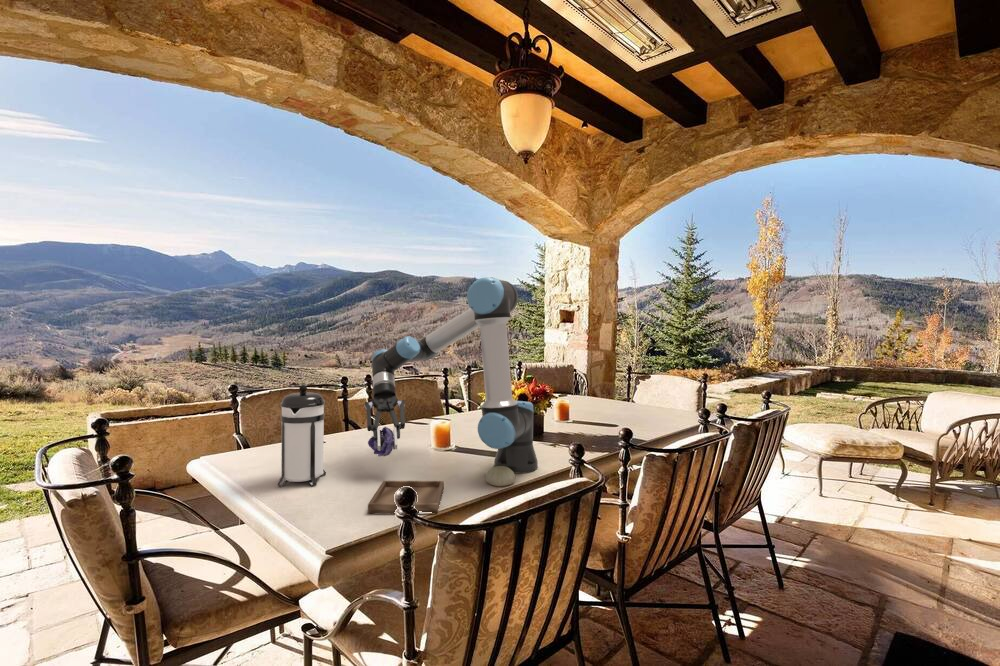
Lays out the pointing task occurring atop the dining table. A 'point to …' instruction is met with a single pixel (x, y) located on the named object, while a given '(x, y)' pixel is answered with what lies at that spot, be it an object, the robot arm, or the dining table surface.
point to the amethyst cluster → (383, 442)
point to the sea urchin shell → (500, 476)
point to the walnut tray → (425, 490)
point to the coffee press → (302, 437)
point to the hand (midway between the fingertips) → (387, 447)
